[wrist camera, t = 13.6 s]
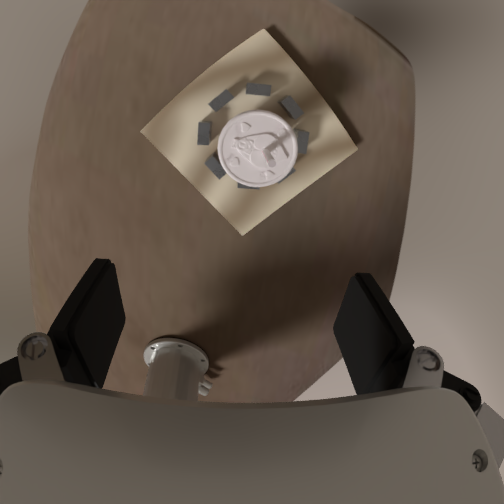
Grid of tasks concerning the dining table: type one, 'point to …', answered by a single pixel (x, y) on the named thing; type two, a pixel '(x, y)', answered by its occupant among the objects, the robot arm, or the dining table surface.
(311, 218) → the dining table surface
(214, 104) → the grey blocks
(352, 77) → the dining table surface
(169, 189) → the dining table surface
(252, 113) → the smoothie
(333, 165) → the socket plate
